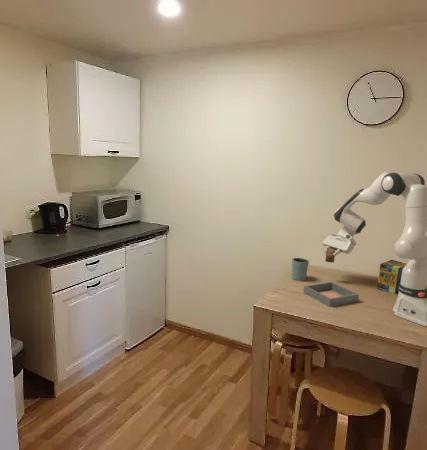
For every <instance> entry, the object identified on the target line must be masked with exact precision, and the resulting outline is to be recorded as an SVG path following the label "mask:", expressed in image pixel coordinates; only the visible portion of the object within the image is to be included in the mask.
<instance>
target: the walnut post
mask: <svg viewBox="0 0 427 450" xmlns="http://www.w3.org/2000/svg"><path fill="white" fill-rule="evenodd" d="M334 252H336V250H335V248H331V247H327V251H326V253H325V262H326V263H335V257H336V256H333V255H332V254H333V253H334Z"/></svg>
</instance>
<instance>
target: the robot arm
mask: <svg viewBox="0 0 427 450" xmlns="http://www.w3.org/2000/svg"><path fill="white" fill-rule="evenodd" d="M424 178H425V177H423V176H422V175H421V174H418V173H411V172H410V173H409V172H405V171H404V172H402V171H401V172H390V171H385V172H383V173H381V174H380V175H379V176H378V177H377V178H375V180H373V182H372V183H371V185H370V186H368V187H367V188H361V189H359V190H358V191H356V192H355V193H354V194H353V195H352V196H351V197H350V198H348V200H347V201H346V202H344V203H343V205H340V206H339V207H338V208H337V209H336V210H335V211H334V214H333V217H334V220H335V221H336V222H338V223H340V224H341V225H343V227H342V228H340V230H338V232H337V233H336V234H334V233H332V234H329V235H328V236H326V238H324V239H323V241H322V245H323V246H324V247H325V250H324V253H325V254H326V251H327V247H331V248H335V252H334V253H333V254H332V255H333V256H335V257H336V256H338V255H340V254H341V253H343V254H346V255H348V254H350V253H351V252H352V251H353V250H354V248H355V246H356V245H357V242H356V240H355V239H354V237H355V235H358V234H360V233H361V232H362V231H363V230H364V229H365V227H366V225H367V223H366V219H365V218H363V217H362V216H361V215H359V214H357V213H356V212H355V211H353V210H352V209H351V208H352V206H354V205H355V204H356V203H365V204H367V205H371V206H378V205H381V204H384V203H385V202H386V201H387V200H388V199H389V197H390V196H391V195H392V196H397V197H399V196H402V197H403V198H404V213H405V214H404V227H403V231H402V233H401V235H400V237H399V239H398V240H397V241H396V242H395V243H394V246H393V247H394V248H393V249H394V253H395V255H396V256H397V257H398V258H400V259H403V260H408V262H407V263H406V264H407V265H406V266H405V267H404V268H403V270H402V276H401V283H399V289H398V293H397V297H396V301H395V303H394V305H393V307H392V311H393V313H394V315H395V316H397V317H399V318H401V319H404V320H407V321H410V322H412V323H414V324H417V325H420V326H423V327H427V235H426V232H427V186H426V182H425V179H424Z"/></svg>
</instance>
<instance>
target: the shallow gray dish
mask: <svg viewBox="0 0 427 450" xmlns="http://www.w3.org/2000/svg"><path fill="white" fill-rule="evenodd" d="M327 290H332V291H334V292H335V293H334V292H332V291H328V292H322V291H327ZM336 293H338V294H340V295H341V296H339V295H338V294H336ZM303 294H305V295H307V296H309V297H310V298H313V299H314V300H316V301H318V302H320V303H322V304H324V305H326V306H327V307H336V306H339V305H340V306H341V305H345V304H351V303H355V302H358V301H359V296H360V294H359V293H357V292H355V291H354V290H351V289H348V288H346V287H343V286H341V285H339V284H338V283H335V282H332V281H329V282H320V283H315V284H314V283H313V284H308V285H304V286H303Z"/></svg>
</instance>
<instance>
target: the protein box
mask: <svg viewBox="0 0 427 450" xmlns="http://www.w3.org/2000/svg"><path fill="white" fill-rule="evenodd" d="M407 264H408V263H405V262H403V261H398V260H394V259H389V260H387V261H384V262H382V263H380V264H379V271H378V279H377V285H376V289H377V290H380V291H383V292H387V293H389V294H394V295H396V294H398V293H399V292H398V289H399V283H401V276H402V270H403V268H404V267H405V266H406V265H407Z"/></svg>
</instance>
